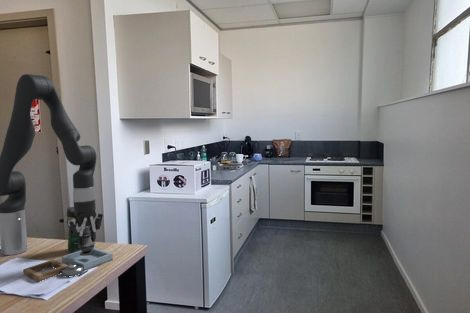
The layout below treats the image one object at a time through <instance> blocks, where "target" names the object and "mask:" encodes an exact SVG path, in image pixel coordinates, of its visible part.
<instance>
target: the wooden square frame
mask: <svg viewBox="0 0 470 313" xmlns="http://www.w3.org/2000/svg"><path fill="white" fill-rule="evenodd" d="M68 266H69V265H67V264H64V263H62V261H61V262H60V261H58V260H56V259H51V260H47V261H45V262H42V263H38V264H35V265H32V266H28V267H26V268H24V269H22V271H23V272H22V273H23V276H25V277H26V278H27V277H28V278H29V279H32V280H33V279H34V281H35V280H36V282H37V281H38V282H37V283H41V282H43V281H42V280H44V281H46V280H49V279H51V278H50V277H52V278H54V277H56V276H55V275H57V276H59V275H58V274H60V273H62V268H65V267H68ZM49 267H50V268H52V269H50V270H47V271H45V272H41V271H44V270H46V269H49ZM53 267H54V268H53ZM55 268H56V269H55ZM43 269H44V270H43ZM40 272H41V273H40ZM60 275H61V274H60ZM53 276H54V277H53ZM48 278H49V279H48ZM45 279H46V280H45ZM40 281H41V282H40Z"/></svg>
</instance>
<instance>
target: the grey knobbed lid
mask: <svg viewBox="0 0 470 313" xmlns="http://www.w3.org/2000/svg"><path fill="white" fill-rule="evenodd" d="M81 273H82V274H83V273H85V271H84V266H82V265H79V264H71V265H69V266H68V267H65V268H62V274H61V277H63V276H66V277H65V278H70V277H69V276H75V275H78V274H80V275H82V274H81ZM78 276H79V275H78ZM75 277H76V276H75Z"/></svg>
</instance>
